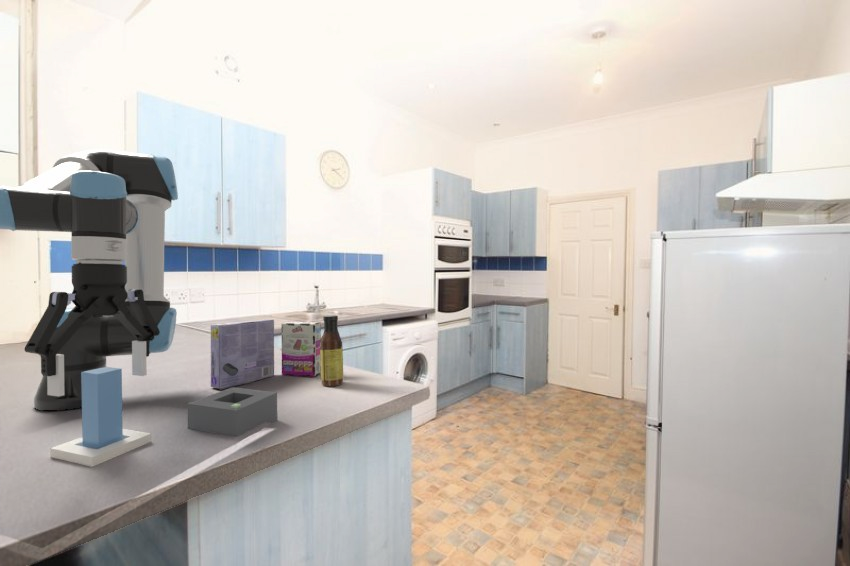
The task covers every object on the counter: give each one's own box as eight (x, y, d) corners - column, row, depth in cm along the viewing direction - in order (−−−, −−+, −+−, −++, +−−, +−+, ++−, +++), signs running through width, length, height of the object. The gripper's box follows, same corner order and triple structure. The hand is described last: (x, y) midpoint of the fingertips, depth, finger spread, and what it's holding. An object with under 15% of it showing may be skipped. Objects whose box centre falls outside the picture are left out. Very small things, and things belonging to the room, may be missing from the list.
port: (187, 433, 81) (187, 401, 81) (233, 413, 93) (232, 384, 92) (236, 441, 78) (236, 407, 77) (277, 419, 89) (277, 390, 89)
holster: (50, 462, 68) (50, 448, 68) (112, 439, 78) (112, 426, 78) (92, 472, 65) (92, 457, 65) (151, 446, 75) (150, 433, 75)
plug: (82, 451, 70) (81, 372, 70) (106, 442, 74) (105, 366, 74) (99, 455, 69) (97, 374, 69) (122, 445, 73) (121, 368, 72)
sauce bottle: (347, 383, 118) (348, 315, 117) (332, 388, 112) (332, 317, 112) (331, 379, 121) (331, 313, 120) (315, 384, 116) (315, 315, 115)
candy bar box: (321, 373, 129) (321, 321, 128) (314, 377, 124) (314, 323, 123) (288, 371, 130) (288, 320, 130) (280, 375, 125) (280, 322, 125)
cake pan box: (267, 373, 128) (267, 317, 127) (278, 375, 126) (278, 318, 125) (208, 388, 111) (208, 324, 111) (219, 391, 109) (219, 325, 108)
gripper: (24, 260, 57) (27, 408, 58) (179, 264, 81) (180, 369, 82) (-9, 260, 60) (-6, 403, 60) (151, 264, 83) (152, 367, 84)
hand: (101, 384), depth 71 cm, fingers open, 13 cm apart
